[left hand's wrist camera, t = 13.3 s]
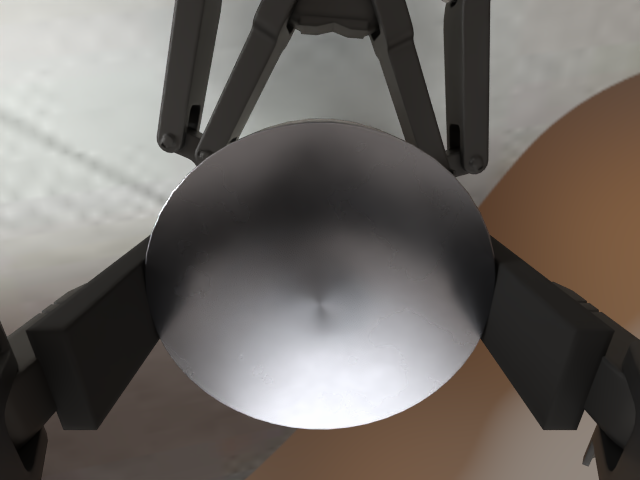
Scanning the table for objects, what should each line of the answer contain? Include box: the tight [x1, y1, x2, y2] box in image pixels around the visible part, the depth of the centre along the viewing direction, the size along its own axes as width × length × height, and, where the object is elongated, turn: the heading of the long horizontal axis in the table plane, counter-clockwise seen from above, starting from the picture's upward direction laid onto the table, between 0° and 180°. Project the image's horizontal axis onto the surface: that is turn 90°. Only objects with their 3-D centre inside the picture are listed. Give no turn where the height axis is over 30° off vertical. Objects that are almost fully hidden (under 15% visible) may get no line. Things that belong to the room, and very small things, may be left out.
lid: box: [145, 119, 496, 429], centre depth 11 cm, size 10×10×2 cm
